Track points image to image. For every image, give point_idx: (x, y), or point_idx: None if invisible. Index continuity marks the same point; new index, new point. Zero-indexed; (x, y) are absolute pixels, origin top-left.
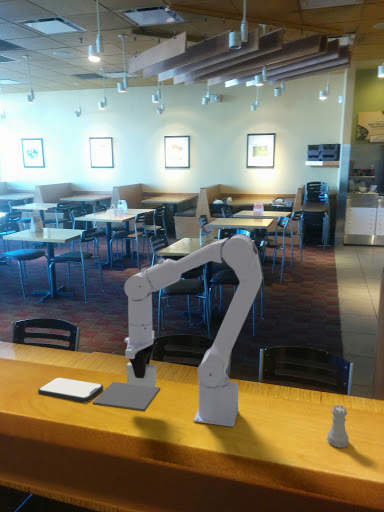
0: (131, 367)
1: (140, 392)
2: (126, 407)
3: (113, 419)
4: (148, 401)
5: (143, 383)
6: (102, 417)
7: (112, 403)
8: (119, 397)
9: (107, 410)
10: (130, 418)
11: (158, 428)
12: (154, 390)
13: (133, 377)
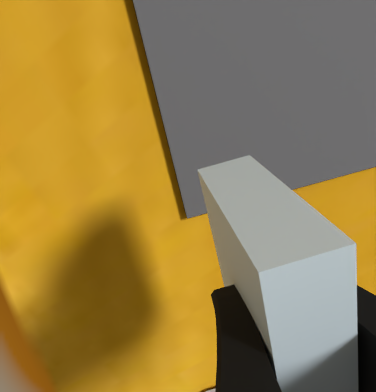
0: (258, 307)
1: (329, 98)
2: (164, 127)
3: (38, 136)
4: None
5: None
6: (14, 65)
7: (155, 25)
8: (236, 17)
9: (90, 39)
10: (97, 202)
11: (101, 332)
12: (368, 152)
13: (226, 252)
